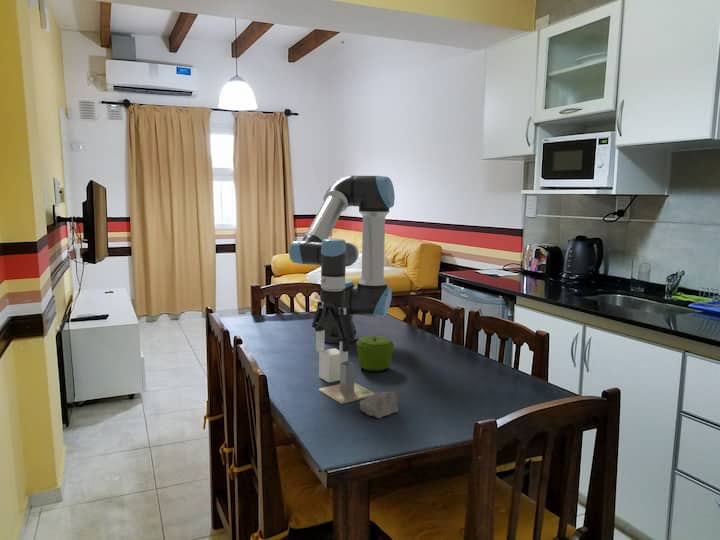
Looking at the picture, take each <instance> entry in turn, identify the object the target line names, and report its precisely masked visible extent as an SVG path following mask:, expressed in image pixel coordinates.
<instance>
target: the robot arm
mask: <svg viewBox="0 0 720 540" xmlns="http://www.w3.org/2000/svg"><path fill="white" fill-rule="evenodd" d="M395 199H396V197H395V189H394V184H393V181H392V179H391V178H390V177H388V176H386V175H385V176H384V175H347V176H345V177H343V178H340V179H339V180H337V181H336V182H335V183H332V185H331V186H330V187H329V188H328V189H327V190H326V192H325V194H324V195H323V203H322V205H321V206H320V208H319V210H318V212H317V213H316V215H315V217H314V219H313V221H312V222H311V224H310V225H309V227H308V229H307V231H306V233H305V235H304V237H303V238H302V239H301V240H295V241H292V242H291V244H290V246H289V249H288V255H289V259H290V262H292V263H294V264H299V265H309V266H310V265H312V266H320V268H321V269H320V278H321V279H320V288H321V290H320V301H319V300H318V301H317V307H316V310H315V315H314V317H313V319H312V324H311V326H312V327H311V328H314V331H315V351H316V352H319V351H322V350H325V343H329V344H339V349H338V350H339V362H348V361H349V351H350V349H349V348H350V343H353V342H355V341H357V340H358V334H357V333H358V332H357V330H356V327H355V322H354V316H364V317H373V318H377V317H378V318H383V317H385V316H387V314H388V312H389V309H390V306H391V303H392V298H393V297H392V296H393V294H392V293H393V291H392V288H391V287H389V286H388V281H386V279H385V278H384V275H385V274H384V273H385V269H384V268H385V243H386V242H385V240H386V239H385V237H386V233H385V232H386V216H387V215H388V214H389V213H390V209H391V208H394V205H395ZM348 207H358V213H360V215H361V216H362V229H361V230H362V232H361V233H362V237H361V239H362V244H361V276H360V277H361V278H360V279H358V281H357V285H355V283H354V281H353V280H346V267H350V266H352V265H354V264H355V263H356V262H357V261H358V260H359V255H360V254H359V249H358V247H357V246H356V245H355V244H353V243H350V242H346V240H344V239H340V238H329V237H330V235H331V234H332V232H333V230H334V228H335V226H336V224H337V223H338V220H339V218H340V216H341V215H342V213H343V212H345V211H346V210H347V209H348Z"/></svg>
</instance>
